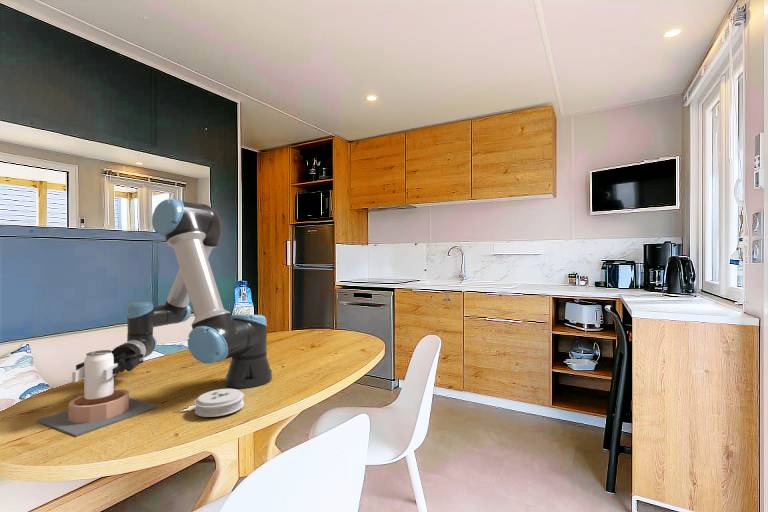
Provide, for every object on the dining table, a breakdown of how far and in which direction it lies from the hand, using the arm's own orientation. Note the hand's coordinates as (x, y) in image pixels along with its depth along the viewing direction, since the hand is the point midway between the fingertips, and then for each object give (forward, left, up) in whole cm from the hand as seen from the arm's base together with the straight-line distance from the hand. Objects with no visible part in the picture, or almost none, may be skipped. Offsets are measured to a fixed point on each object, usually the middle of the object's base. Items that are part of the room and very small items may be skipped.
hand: (89, 376), depth 98 cm
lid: (-25, -20, -12) cm, 34 cm away
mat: (+3, -4, -12) cm, 13 cm away
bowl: (+3, -4, -12) cm, 13 cm away
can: (+3, -4, -7) cm, 9 cm away
